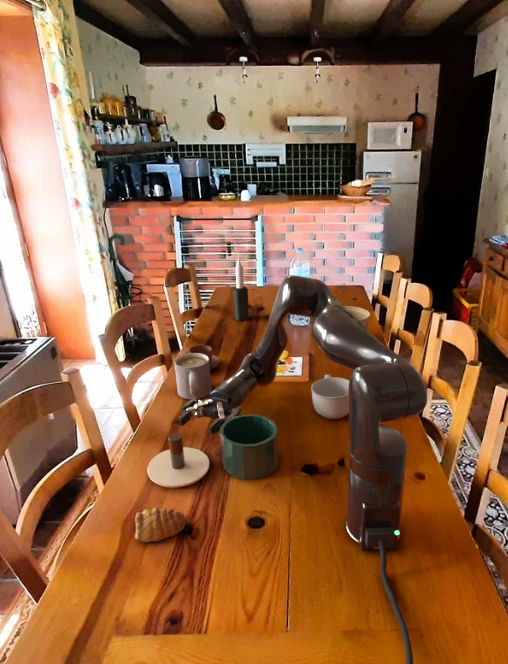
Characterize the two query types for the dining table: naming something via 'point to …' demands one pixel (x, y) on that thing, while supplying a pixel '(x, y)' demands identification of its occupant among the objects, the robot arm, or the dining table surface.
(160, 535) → the pastry
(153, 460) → the lid
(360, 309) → the planter bowl
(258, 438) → the green pot
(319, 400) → the teacup
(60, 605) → the dining table surface
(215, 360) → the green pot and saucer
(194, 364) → the coffee mug
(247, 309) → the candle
